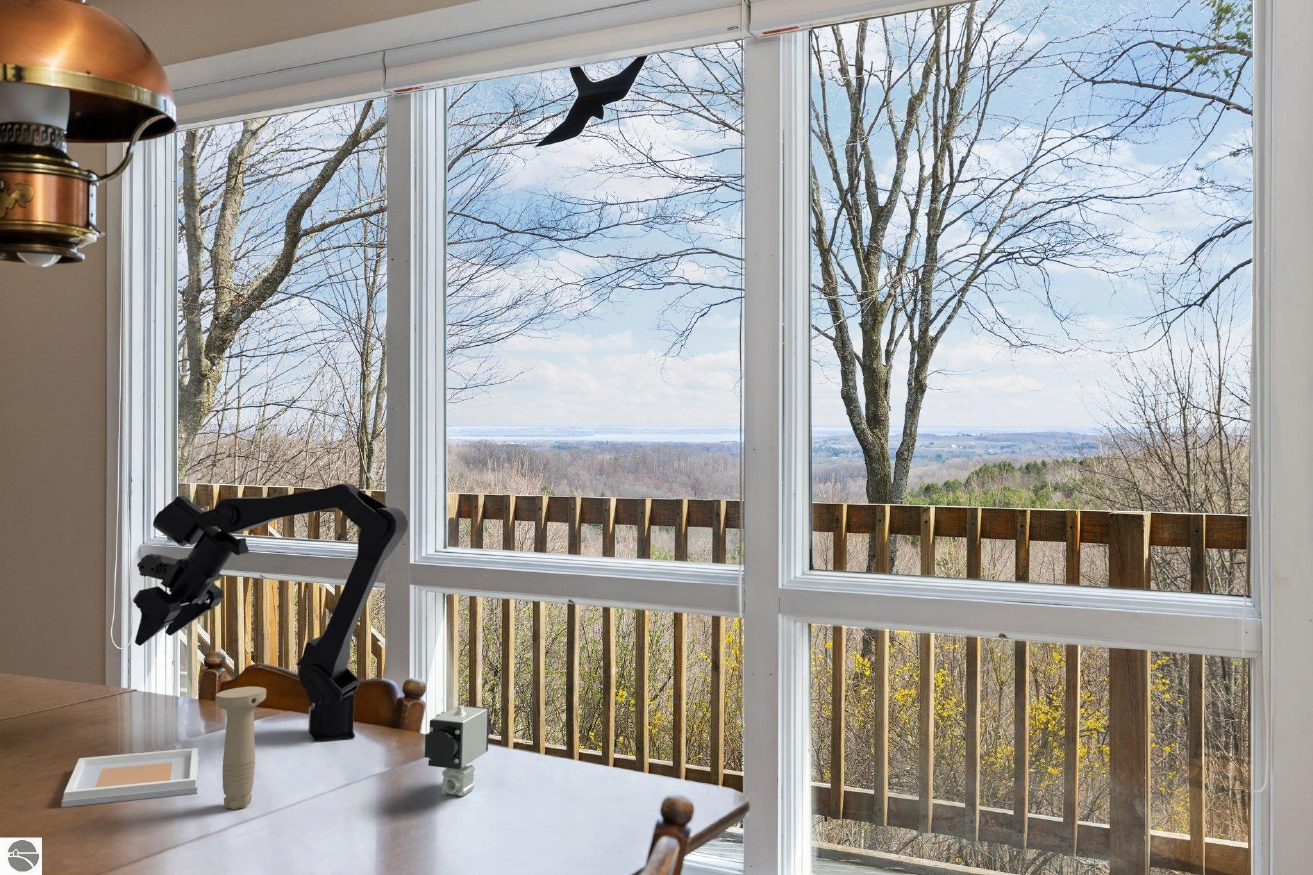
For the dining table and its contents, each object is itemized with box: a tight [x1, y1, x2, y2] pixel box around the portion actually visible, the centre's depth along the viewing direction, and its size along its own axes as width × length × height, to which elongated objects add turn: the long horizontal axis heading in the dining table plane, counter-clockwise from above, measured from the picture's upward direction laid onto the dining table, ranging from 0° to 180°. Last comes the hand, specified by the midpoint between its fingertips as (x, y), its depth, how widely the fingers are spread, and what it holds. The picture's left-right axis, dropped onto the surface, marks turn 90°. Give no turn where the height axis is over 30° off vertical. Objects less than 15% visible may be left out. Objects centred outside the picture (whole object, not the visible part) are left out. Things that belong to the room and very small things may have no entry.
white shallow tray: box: [61, 747, 200, 808], centre depth 140 cm, size 16×16×2 cm
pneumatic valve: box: [424, 704, 492, 797], centre depth 139 cm, size 6×12×12 cm, turn 164°
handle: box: [215, 686, 267, 810], centre depth 132 cm, size 5×6×15 cm
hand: (153, 639), depth 167 cm, fingers open, 9 cm apart
